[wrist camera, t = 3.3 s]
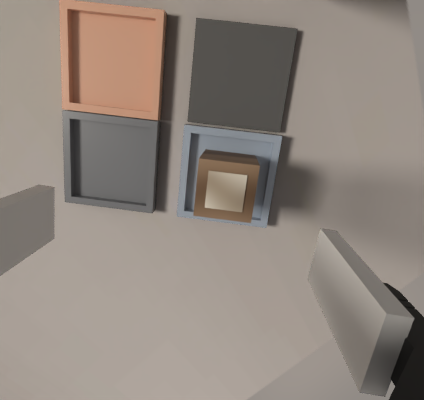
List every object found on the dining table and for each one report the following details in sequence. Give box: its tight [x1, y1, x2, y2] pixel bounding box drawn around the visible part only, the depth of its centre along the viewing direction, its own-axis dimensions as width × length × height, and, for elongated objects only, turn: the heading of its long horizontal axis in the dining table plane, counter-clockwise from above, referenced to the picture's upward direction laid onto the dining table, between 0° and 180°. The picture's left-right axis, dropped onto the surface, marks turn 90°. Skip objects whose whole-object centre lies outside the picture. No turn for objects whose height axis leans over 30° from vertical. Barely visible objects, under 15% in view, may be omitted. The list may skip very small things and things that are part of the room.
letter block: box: [193, 149, 260, 223], centre depth 29 cm, size 5×5×6 cm
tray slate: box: [177, 124, 282, 228], centre depth 31 cm, size 9×9×1 cm
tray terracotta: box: [59, 0, 167, 120], centre depth 29 cm, size 9×9×1 cm
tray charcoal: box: [62, 110, 160, 213], centre depth 32 cm, size 9×9×1 cm
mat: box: [188, 18, 297, 132], centre depth 29 cm, size 9×9×1 cm
